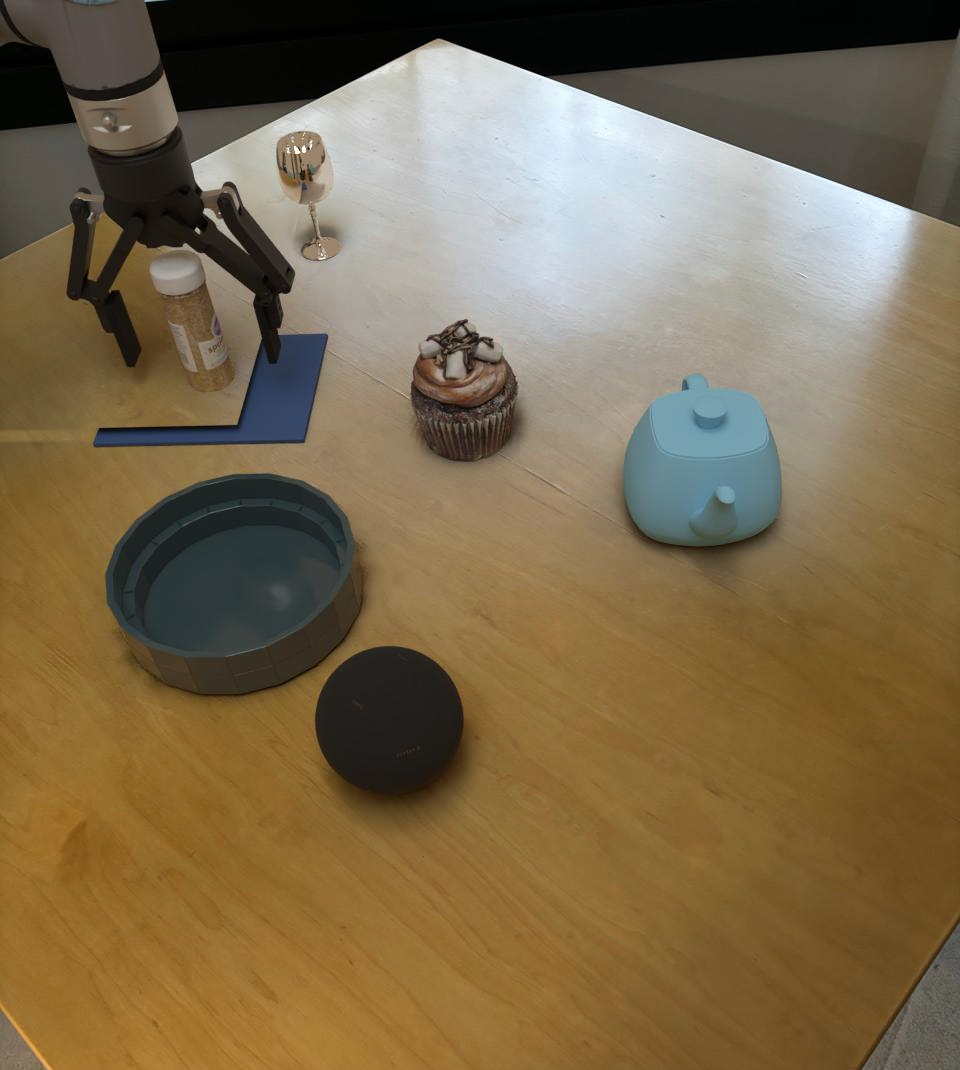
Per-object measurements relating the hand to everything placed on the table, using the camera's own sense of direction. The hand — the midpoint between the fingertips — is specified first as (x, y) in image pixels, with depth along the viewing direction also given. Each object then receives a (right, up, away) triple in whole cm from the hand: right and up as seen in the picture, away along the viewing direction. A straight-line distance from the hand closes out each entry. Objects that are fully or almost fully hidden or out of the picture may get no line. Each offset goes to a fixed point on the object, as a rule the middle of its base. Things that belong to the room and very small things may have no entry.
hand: (204, 357), depth 101 cm
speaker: (+20, -35, -25) cm, 48 cm away
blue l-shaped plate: (0, -2, +3) cm, 4 cm away
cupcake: (+25, -8, -3) cm, 26 cm away
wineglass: (+8, +16, +17) cm, 25 cm away
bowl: (+7, -24, -14) cm, 28 cm away
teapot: (+44, -16, -12) cm, 49 cm away
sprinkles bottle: (0, -2, +3) cm, 4 cm away
